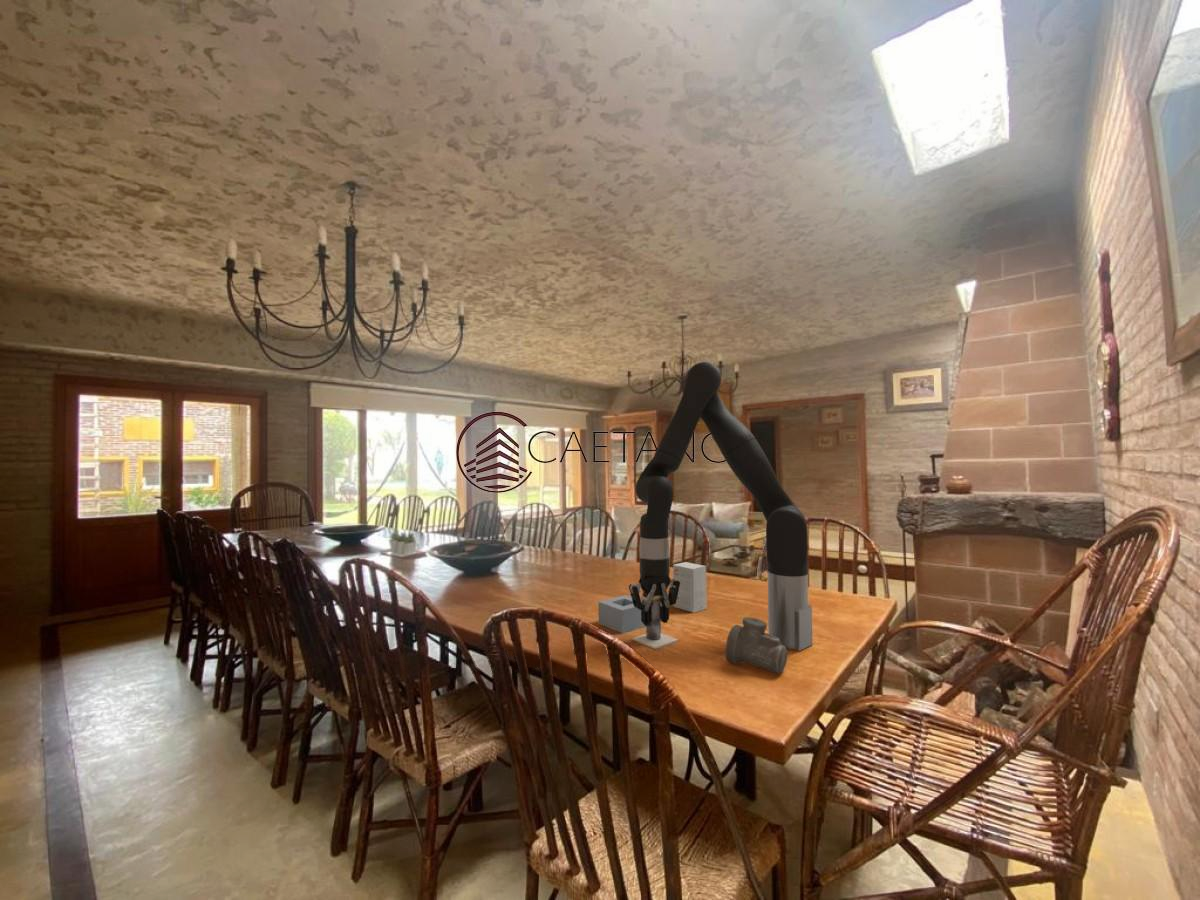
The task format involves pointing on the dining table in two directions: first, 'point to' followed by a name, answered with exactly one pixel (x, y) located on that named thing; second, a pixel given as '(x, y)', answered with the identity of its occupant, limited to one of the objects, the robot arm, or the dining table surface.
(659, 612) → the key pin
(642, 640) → the coaster
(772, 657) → the pipe fitting
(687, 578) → the small box
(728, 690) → the dining table surface
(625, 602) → the block
